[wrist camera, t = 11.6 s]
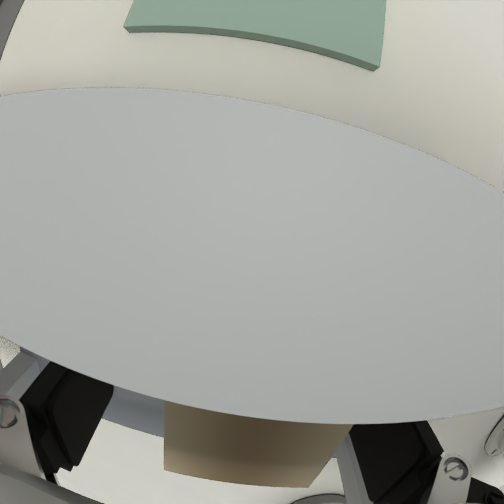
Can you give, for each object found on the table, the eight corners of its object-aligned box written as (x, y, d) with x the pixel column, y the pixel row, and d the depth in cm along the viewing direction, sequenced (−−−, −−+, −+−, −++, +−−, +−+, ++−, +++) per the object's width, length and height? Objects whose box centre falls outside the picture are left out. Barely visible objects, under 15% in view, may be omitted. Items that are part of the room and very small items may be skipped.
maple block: (325, 296, 12) (371, 394, 6) (293, 385, 14) (308, 487, 8) (206, 273, 12) (166, 366, 6) (192, 368, 13) (164, 470, 8)
